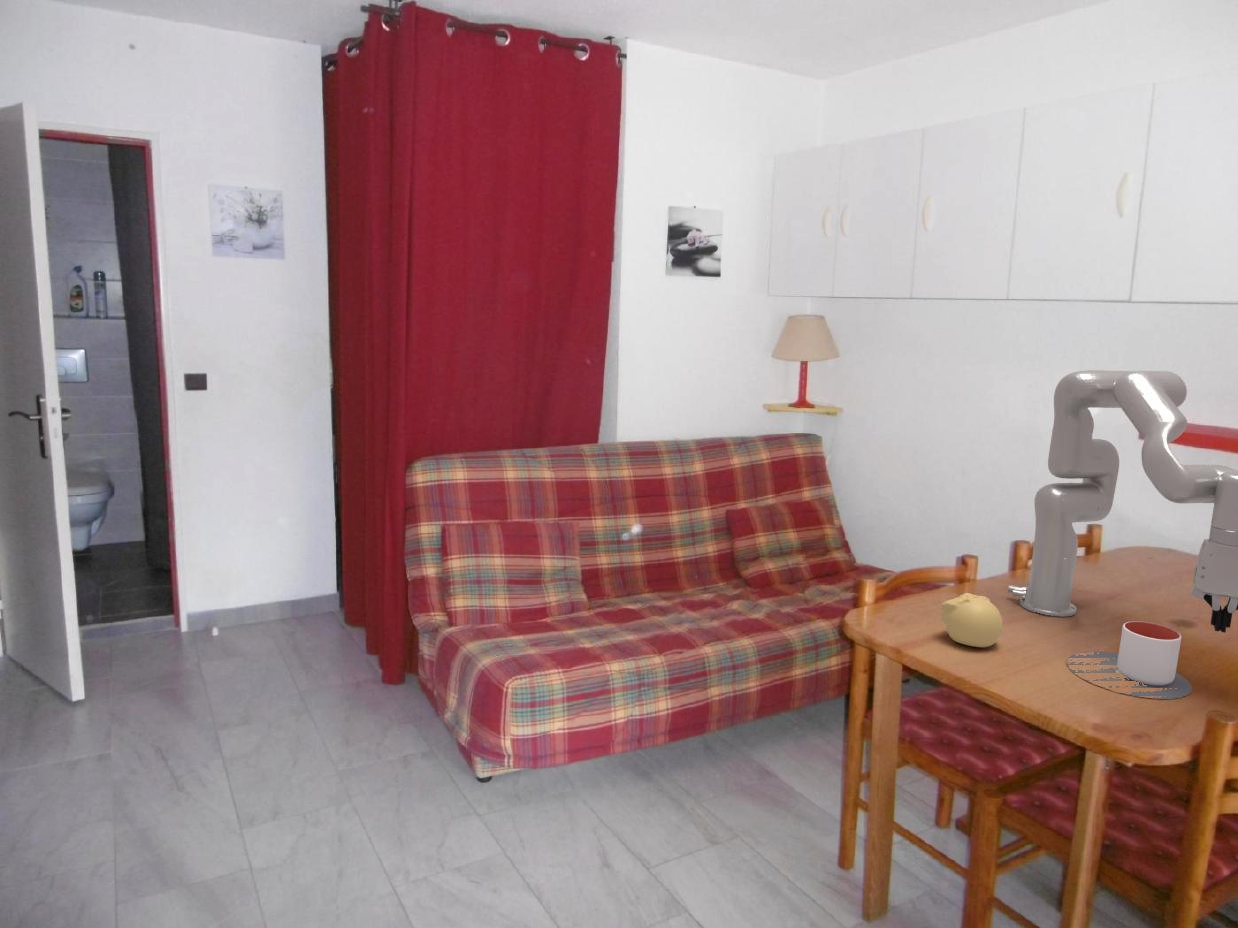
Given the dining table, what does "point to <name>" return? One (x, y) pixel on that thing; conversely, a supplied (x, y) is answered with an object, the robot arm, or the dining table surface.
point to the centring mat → (1173, 693)
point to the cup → (1148, 653)
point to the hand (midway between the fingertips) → (1219, 629)
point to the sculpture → (972, 620)
